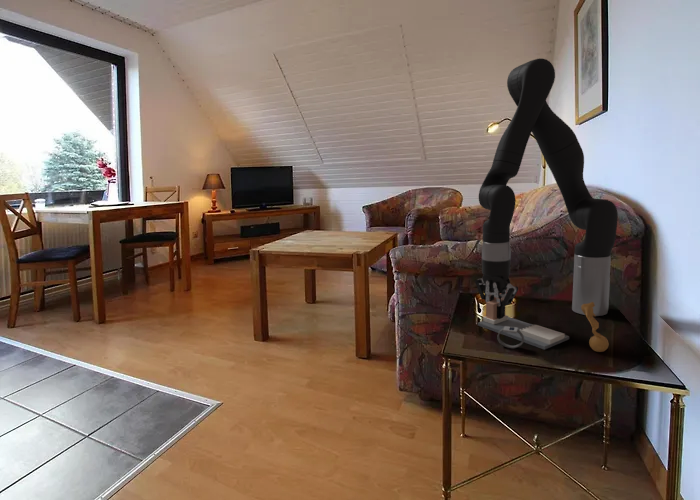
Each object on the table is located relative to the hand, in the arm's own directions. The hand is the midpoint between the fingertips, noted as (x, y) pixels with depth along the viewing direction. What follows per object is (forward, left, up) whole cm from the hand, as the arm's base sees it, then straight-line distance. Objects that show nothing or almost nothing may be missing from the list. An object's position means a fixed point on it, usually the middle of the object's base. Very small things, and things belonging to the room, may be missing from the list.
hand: (495, 316), depth 123 cm
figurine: (-3, +26, -2) cm, 26 cm away
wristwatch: (+10, +13, -2) cm, 17 cm away
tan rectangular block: (0, 0, -2) cm, 2 cm away
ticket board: (0, +8, -2) cm, 9 cm away
